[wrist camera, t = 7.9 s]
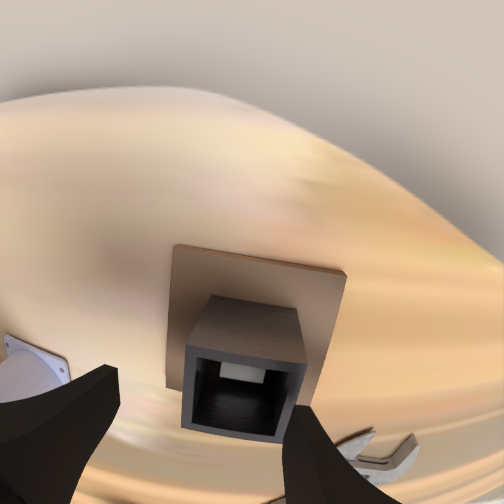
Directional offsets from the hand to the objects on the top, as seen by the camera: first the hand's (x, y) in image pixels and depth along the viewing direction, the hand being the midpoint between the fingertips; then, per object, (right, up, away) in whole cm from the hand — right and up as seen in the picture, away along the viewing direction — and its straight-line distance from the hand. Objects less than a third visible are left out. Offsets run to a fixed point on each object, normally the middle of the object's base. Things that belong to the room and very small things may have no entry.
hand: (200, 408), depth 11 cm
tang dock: (+2, +1, +8) cm, 9 cm away
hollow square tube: (+2, +1, +7) cm, 8 cm away
